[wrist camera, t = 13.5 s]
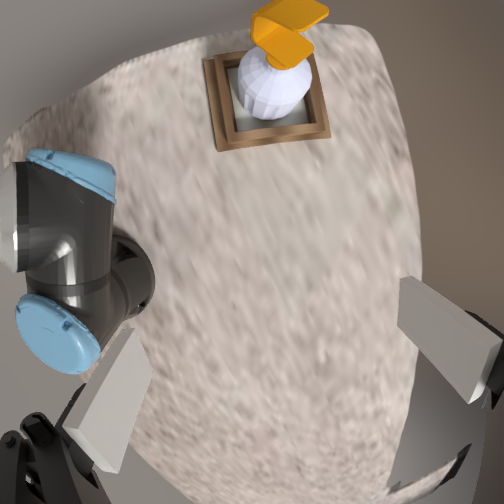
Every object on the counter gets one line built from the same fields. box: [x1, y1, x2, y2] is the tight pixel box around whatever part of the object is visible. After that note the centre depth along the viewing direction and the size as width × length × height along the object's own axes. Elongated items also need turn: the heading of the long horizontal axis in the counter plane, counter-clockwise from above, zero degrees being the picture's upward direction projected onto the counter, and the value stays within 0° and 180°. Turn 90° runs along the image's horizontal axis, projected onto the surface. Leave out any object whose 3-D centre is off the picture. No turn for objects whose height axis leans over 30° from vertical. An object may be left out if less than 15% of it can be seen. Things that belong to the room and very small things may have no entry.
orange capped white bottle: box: [238, 0, 329, 120], centre depth 25 cm, size 9×9×25 cm
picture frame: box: [204, 51, 331, 152], centre depth 37 cm, size 18×16×4 cm
